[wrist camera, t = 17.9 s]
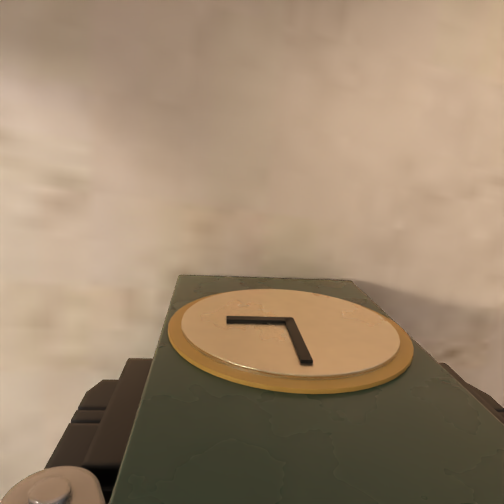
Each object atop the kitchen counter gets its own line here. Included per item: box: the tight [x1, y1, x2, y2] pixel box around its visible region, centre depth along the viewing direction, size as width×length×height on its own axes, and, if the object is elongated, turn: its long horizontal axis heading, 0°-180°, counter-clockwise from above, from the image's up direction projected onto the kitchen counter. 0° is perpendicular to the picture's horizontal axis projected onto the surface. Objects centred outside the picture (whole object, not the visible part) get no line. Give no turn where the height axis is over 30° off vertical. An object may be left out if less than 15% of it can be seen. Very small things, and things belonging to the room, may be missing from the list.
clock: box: [109, 275, 504, 504], centre depth 11 cm, size 10×6×8 cm
